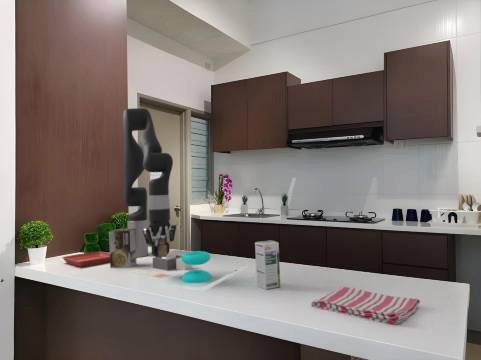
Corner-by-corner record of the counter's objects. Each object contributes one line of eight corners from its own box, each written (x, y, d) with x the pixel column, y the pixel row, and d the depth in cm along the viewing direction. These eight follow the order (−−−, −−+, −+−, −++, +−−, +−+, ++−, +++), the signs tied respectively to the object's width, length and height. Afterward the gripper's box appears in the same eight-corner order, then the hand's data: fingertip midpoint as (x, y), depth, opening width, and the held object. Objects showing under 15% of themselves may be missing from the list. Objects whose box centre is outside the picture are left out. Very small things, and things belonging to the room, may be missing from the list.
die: (176, 269, 143) (176, 258, 143) (182, 267, 146) (181, 256, 146) (185, 270, 141) (184, 259, 141) (190, 268, 145) (190, 257, 145)
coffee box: (137, 266, 155) (136, 228, 155) (131, 270, 148) (130, 230, 149) (116, 266, 156) (115, 228, 156) (109, 270, 149) (108, 230, 149)
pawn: (152, 256, 133) (151, 237, 133) (162, 254, 137) (161, 236, 137) (159, 257, 130) (159, 238, 130) (169, 255, 134) (169, 236, 134)
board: (121, 275, 141) (120, 261, 141) (166, 264, 158) (166, 252, 158) (154, 282, 128) (153, 268, 128) (199, 269, 145) (199, 257, 145)
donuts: (209, 249, 134) (211, 254, 124) (209, 277, 133) (212, 284, 124) (181, 251, 132) (181, 256, 122) (182, 279, 132) (182, 286, 122)
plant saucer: (100, 257, 180) (100, 250, 180) (118, 262, 167) (118, 254, 167) (61, 264, 167) (61, 256, 167) (78, 269, 154) (78, 261, 154)
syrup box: (265, 289, 116) (264, 243, 116) (256, 285, 121) (254, 241, 121) (280, 287, 118) (279, 241, 118) (270, 282, 124) (269, 239, 124)
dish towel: (399, 329, 84) (398, 314, 84) (309, 308, 99) (309, 295, 99) (421, 308, 96) (421, 295, 96) (339, 293, 112) (338, 281, 112)
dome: (158, 264, 147) (158, 249, 147) (169, 261, 152) (169, 247, 152) (168, 266, 144) (167, 250, 144) (178, 263, 148) (178, 248, 148)
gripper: (168, 206, 142) (169, 250, 141) (136, 209, 131) (137, 257, 130) (181, 206, 137) (182, 252, 137) (149, 209, 126) (151, 259, 126)
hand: (160, 254), depth 133 cm, fingers closed on pawn, 4 cm apart
